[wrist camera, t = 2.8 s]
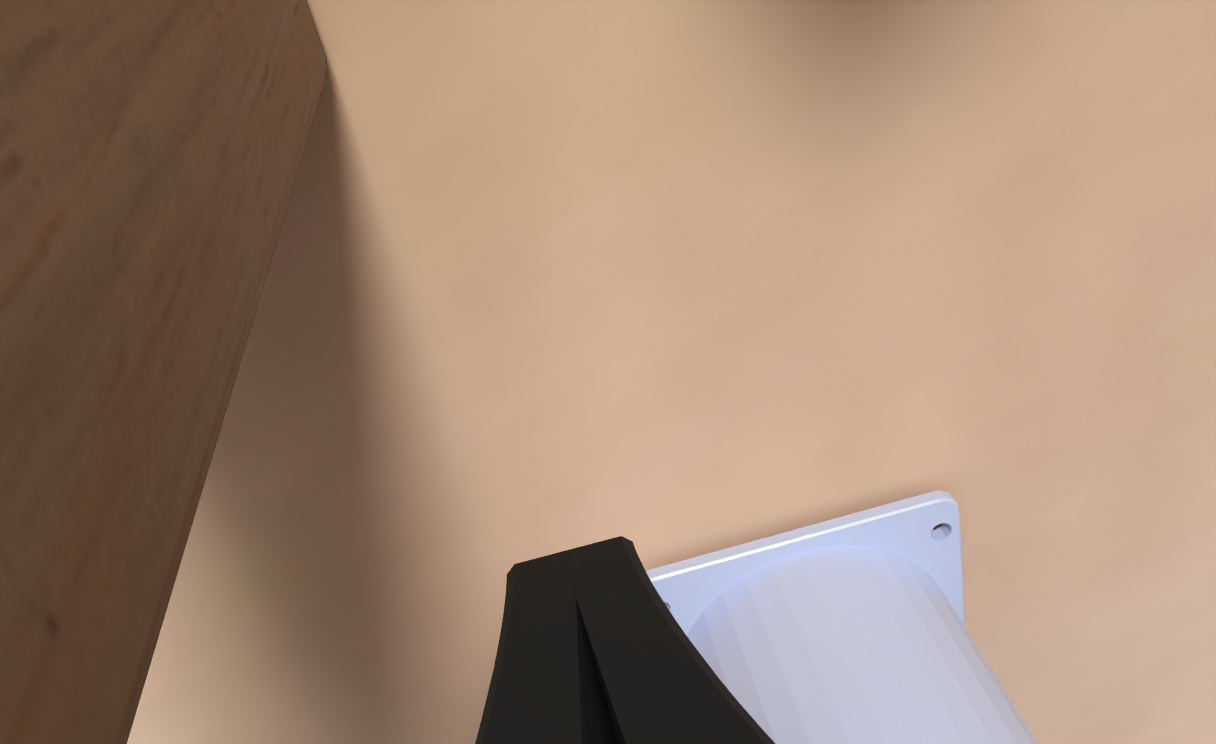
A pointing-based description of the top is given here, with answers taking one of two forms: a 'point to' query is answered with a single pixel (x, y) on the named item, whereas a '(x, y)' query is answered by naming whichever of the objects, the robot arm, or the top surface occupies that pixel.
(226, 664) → the top surface
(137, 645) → the wooden block
